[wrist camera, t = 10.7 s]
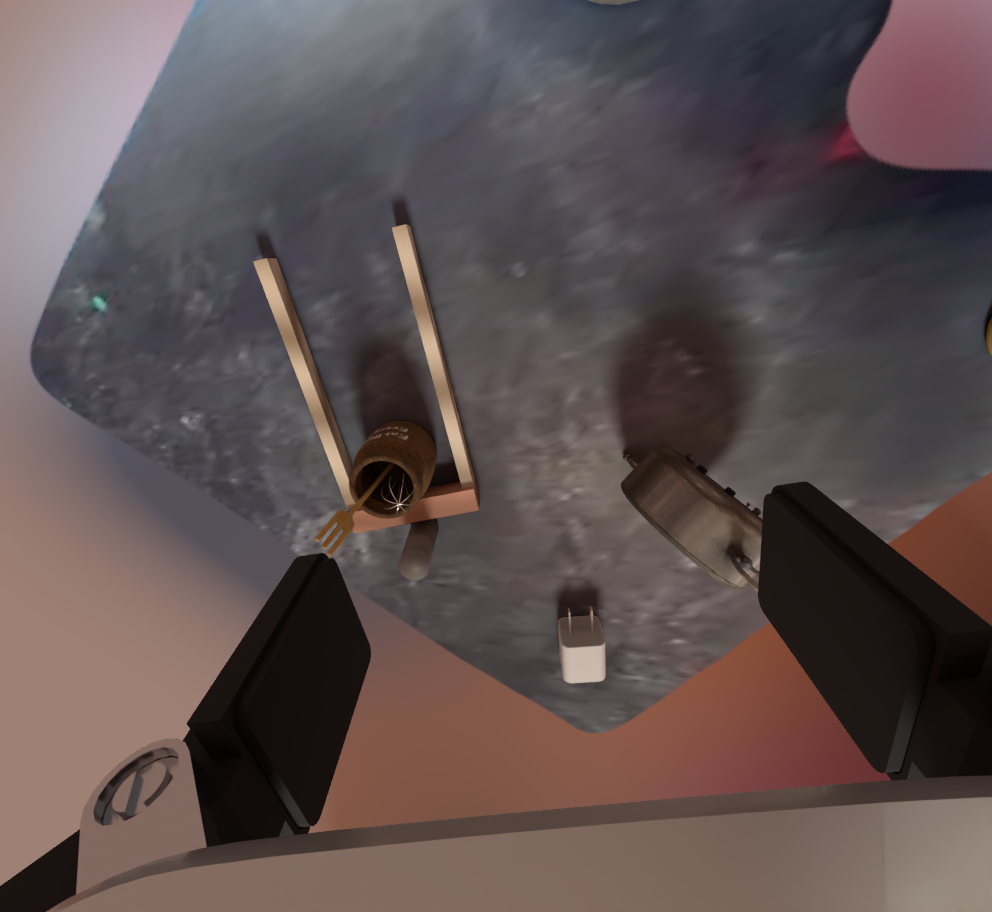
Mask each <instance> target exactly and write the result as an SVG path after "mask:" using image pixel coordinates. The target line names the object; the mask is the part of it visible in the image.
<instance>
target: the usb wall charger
mask: <svg viewBox="0 0 992 912" xmlns="http://www.w3.org/2000/svg"><path fill="white" fill-rule="evenodd" d="M558 632H559V649H560V660H561V667H562V673H563V678H564V680H565V681H566V682H568V683H582V682H597V681H602V680H604V679H605V638H604V634H603V631H602V627H601V624H600V620H599V618H598V617H596V616H594V615H593V611H592V607H591V606H590V616H577V617H570V609H569V608H568V617H563V618H560V619H559V620H558Z"/></svg>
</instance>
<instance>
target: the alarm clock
mask: <svg viewBox="0 0 992 912" xmlns="http://www.w3.org/2000/svg"><path fill="white" fill-rule="evenodd" d="M623 459H624V460H626V461H628V462H629V464H630V465H631V467H632V468H634V470H633V471H632V472H631V473H630V474H629V475H628V476H627V477H626V478H625V480H624V481H623V482H622V483H621V488H622V491H623V493H624V494H625V496H626V498H627V499H628V500H629V501H630V502H631V504H632V505H633V506H634V507H635V508H636V509H637V510H638V512H639V513H640V514H641V515H642V516H643V517H644V518H645V519H646V520H647V521H648V522H649V523H650V524H651V525H652V526H653V527H654V528H655V529H656V530H657V531H658V532H659V533H660V534H661V535H663V536H664V537H665V538H666V539H667V540H668V541H670V542H671V543H672V544H673V545H674V546H675V547H676V548H677V549H678V550H680V551H681V552H682V553H683V554H684V555H685V556H687V557H688V558H689V559H690V560H691V561H693V562H694V563H695V564H696V565H698V566H699V567H700V568H702V569H703V570H704V571H706V572H707V573H708V574H710V575H711V576H713V577H714V578H716V579H717V580H719V581H720V582H722V583H724V584H725V585H727V586H729V587H731V588H733V589H736V590H743V589H744V588H745V587H746V586H747V585H748V584H750V585H751V586H752V587H753V588H754V589H755V590H757V591H758V584H757V583H756V582H755V581H754V580H753V579H754V578H755V577H756V576H757V577H759V569H760V553H761V537H762V521H763V520H762V519H761V518H760V517H758V515H759V514H760V513H761V511H760V510H759V509H758V508H755V509H754V510H752V511H751V510H750V509H748V508H747V507H748V506H750V505H751V504H750V503H749V502H747V506H745V505H744V504H742V503H741V502H740V501H739V500H737V499H736V498H735V497H734V495H735V494H736V493H735V491H733V490H732V489H731V488H729V487H727V488H726V489H724V488H722V487H721V486H720V485H719V484H717V483H716V482H715V481H714V480H712V479H711V478H710V477H708V476H707V475H706V473H707V469H706V468H704V467H703V466H701V465H699V466H698V467H697V466H696V465H694V461H695V460H694V458H693V457H692V456H691V455H688V458H687V459H685V458H684V457H683V456H682V455H680V454H679V453H678V452H676V451H675V450H673V449H670V448H667V447H657V448H654V449H652V450H651V451H650V452H649V453H648V454H647V455H646V456H645V457H644V458H643V460H642V461H641V462H638V461H637V460H635V459H633V458H631V455H630V454H629V453H625V455H624V456H623Z"/></svg>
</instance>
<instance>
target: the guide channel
mask: <svg viewBox="0 0 992 912" xmlns="http://www.w3.org/2000/svg"><path fill="white" fill-rule="evenodd" d="M392 230H393V234H394V238H395V241H396V245H397V249H398V252H399V256H400V260H401V264H402V267H403V271H404V275H405V278H406V282H407V286H408V289H409V293H410V297H411V301H412V304H413V308H414V312H415V315H416V319H417V323H418V327H419V330H420V334H421V338H422V341H423V345H424V349H425V353H426V356H427V360H428V364H429V367H430V371H431V375H432V378H433V382H434V386H435V390H436V393H437V397H438V401H439V404H440V408H441V412H442V416H443V419H444V423H445V427H446V430H447V434H448V438H449V442H450V445H451V449H452V453H453V456H454V460H455V464H456V467H457V471H458V475H459V479H460V482H455V483H450V484H445V485H440V486H435V487H430V488H428V489H427V490H426V492H425V493H424V495H423V496H422V497H421V498H420V499H419V501H418V503H417V504H416V505H415V506H414V507H413V509H412V510H410V511H409V513H406V514H405V515H403V516H400V517H397V518H392V519H383V518H378V517H374V516H372V515H370V514H368V513H366V512H364V511H363V510H362V509H361V508H360V507H359V509H358V510H357V511H356V512H355V513H354V515H353V517H352V518H353V522H354V528H353V529H352V530H353V532H354V533H359V532H365V531H370V530H375V529H381V528H386V527H391V526H397V525H402V524H407V523H412V525H411V528H410V531H409V534H408V537H407V540H406V543H405V546H404V549H403V552H402V555H401V558H400V561H399V564H398V569H399V572H400V573H401V575H402V576H403V577H405V578H407V579H409V580H420V579H422V578H424V577H425V576H426V575H427V574H428V571H429V567H430V563H431V558H432V554H433V550H434V545H435V541H436V537H437V532H438V524H437V522H436V521H435V520H434V518H439V517H445V516H450V515H456V514H461V513H466V512H472V511H477V510H479V504H480V497H479V493H478V489H477V486H476V482H475V478H474V474H473V470H472V466H471V462H470V458H469V454H468V450H467V446H466V443H465V439H464V435H463V431H462V427H461V423H460V419H459V415H458V411H457V407H456V403H455V400H454V396H453V392H452V388H451V384H450V380H449V376H448V372H447V368H446V364H445V361H444V357H443V353H442V349H441V345H440V341H439V337H438V333H437V329H436V325H435V321H434V318H433V314H432V310H431V306H430V302H429V298H428V294H427V290H426V286H425V282H424V278H423V275H422V271H421V267H420V263H419V259H418V255H417V251H416V247H415V243H414V239H413V235H412V232H411V228H410V226H409V225H407V224H405V225H401V226H397V227H392ZM253 262H254V265H255V267H256V270H257V273H258V275H259V278H260V281H261V283H262V286H263V288H264V291H265V294H266V296H267V299H268V302H269V304H270V307H271V309H272V312H273V315H274V317H275V320H276V323H277V325H278V328H279V330H280V333H281V336H282V338H283V341H284V344H285V346H286V349H287V351H288V354H289V357H290V359H291V362H292V365H293V367H294V370H295V372H296V375H297V378H298V380H299V383H300V386H301V388H302V391H303V393H304V396H305V399H306V401H307V404H308V407H309V409H310V412H311V414H312V417H313V420H314V422H315V425H316V428H317V430H318V433H319V435H320V438H321V441H322V443H323V446H324V449H325V451H326V454H327V456H328V459H329V462H330V464H331V467H332V470H333V472H334V475H335V477H336V480H337V483H338V485H339V488H340V491H341V493H342V496H343V498H344V501H345V504H346V506H347V509H348V512H349V511H350V510H351V509H352V508H353V506H354V505H355V504H356V503H355V502H354V500H353V498H352V496H351V493H350V490H349V478H350V474H351V470H352V466H351V463H350V460H349V457H348V455H347V452H346V449H345V446H344V443H343V441H342V438H341V435H340V432H339V430H338V427H337V424H336V421H335V419H334V416H333V413H332V410H331V408H330V405H329V402H328V399H327V397H326V394H325V391H324V388H323V386H322V383H321V380H320V377H319V375H318V372H317V369H316V366H315V363H314V361H313V358H312V355H311V352H310V350H309V347H308V344H307V341H306V339H305V336H304V333H303V330H302V328H301V325H300V322H299V319H298V317H297V314H296V311H295V308H294V306H293V303H292V300H291V297H290V295H289V292H288V289H287V286H286V284H285V281H284V278H283V275H282V272H281V270H280V267H279V264H278V261H277V259H276V258H266V259H261V260H257V261H253Z"/></svg>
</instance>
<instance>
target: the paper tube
mask: <svg viewBox="0 0 992 912" xmlns="http://www.w3.org/2000/svg"><path fill="white" fill-rule="evenodd" d="M986 345H987V349H988V351H989V353H990V354H991V356H992V317H991V319H990V322H989V324H988V327H987V331H986Z"/></svg>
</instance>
